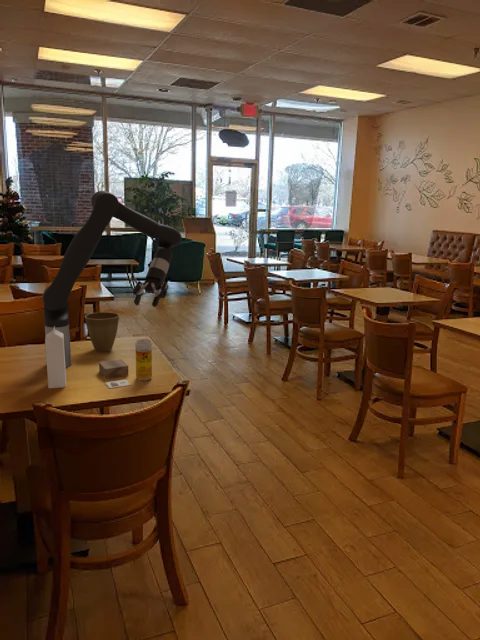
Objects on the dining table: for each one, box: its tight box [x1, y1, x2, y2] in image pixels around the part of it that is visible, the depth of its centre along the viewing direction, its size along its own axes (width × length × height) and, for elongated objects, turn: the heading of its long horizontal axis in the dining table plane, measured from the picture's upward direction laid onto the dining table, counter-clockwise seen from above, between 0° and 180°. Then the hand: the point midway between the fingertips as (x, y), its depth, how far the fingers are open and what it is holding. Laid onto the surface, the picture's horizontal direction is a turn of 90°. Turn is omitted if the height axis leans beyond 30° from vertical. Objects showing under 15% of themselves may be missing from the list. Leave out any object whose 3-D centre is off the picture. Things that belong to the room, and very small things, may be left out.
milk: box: [44, 326, 67, 389], centre depth 184 cm, size 6×6×22 cm
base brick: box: [98, 358, 129, 380], centre depth 200 cm, size 9×9×4 cm
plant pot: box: [84, 311, 120, 353], centre depth 228 cm, size 15×15×16 cm
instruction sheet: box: [104, 378, 131, 390], centre depth 189 cm, size 8×6×1 cm
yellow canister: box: [135, 338, 153, 381], centre depth 195 cm, size 6×6×15 cm
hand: (144, 305), depth 203 cm, fingers open, 8 cm apart
